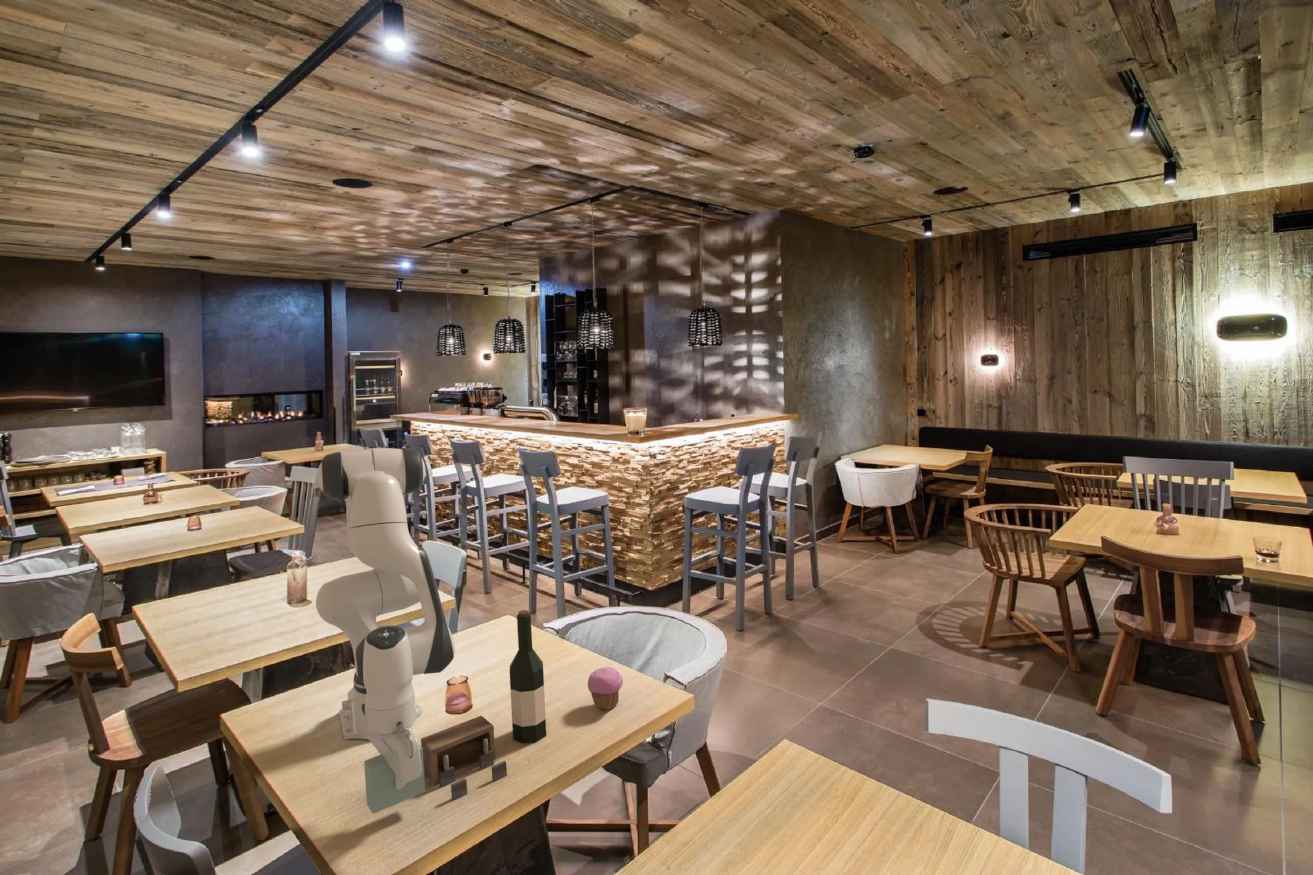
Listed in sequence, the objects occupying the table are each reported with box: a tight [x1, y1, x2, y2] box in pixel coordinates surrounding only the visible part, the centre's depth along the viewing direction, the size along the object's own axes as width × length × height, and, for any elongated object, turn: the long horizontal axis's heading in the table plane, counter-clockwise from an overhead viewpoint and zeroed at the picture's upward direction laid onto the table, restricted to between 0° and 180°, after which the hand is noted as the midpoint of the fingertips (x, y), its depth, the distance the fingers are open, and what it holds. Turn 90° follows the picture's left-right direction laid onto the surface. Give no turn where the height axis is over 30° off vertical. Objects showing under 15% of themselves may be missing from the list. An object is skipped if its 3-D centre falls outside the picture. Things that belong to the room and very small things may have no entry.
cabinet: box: [420, 715, 508, 801], centre depth 144 cm, size 13×14×8 cm
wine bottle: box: [509, 609, 547, 745], centre depth 158 cm, size 8×8×30 cm
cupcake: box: [587, 666, 624, 711], centre depth 171 cm, size 9×9×10 cm
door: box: [363, 744, 426, 815], centre depth 130 cm, size 5×10×9 cm, turn 130°
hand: (395, 780), depth 130 cm, fingers closed on door, 3 cm apart
